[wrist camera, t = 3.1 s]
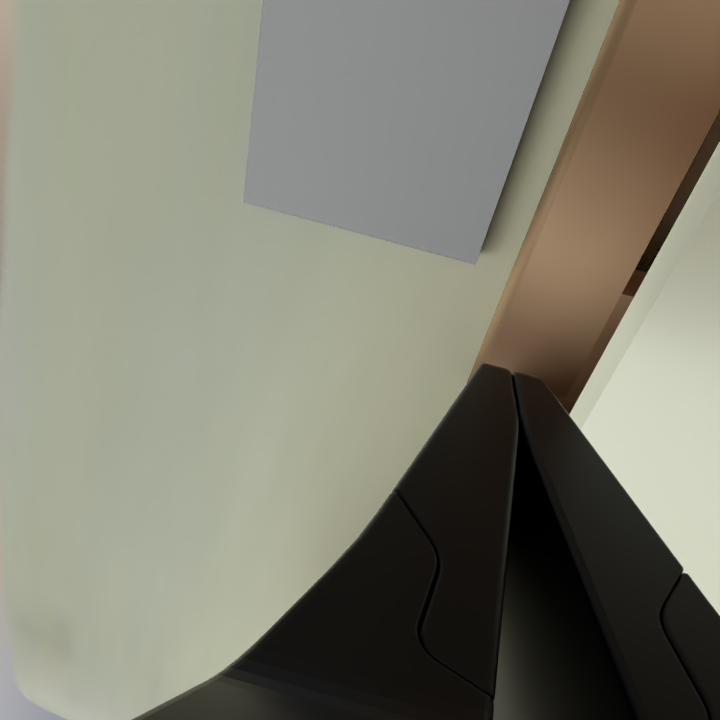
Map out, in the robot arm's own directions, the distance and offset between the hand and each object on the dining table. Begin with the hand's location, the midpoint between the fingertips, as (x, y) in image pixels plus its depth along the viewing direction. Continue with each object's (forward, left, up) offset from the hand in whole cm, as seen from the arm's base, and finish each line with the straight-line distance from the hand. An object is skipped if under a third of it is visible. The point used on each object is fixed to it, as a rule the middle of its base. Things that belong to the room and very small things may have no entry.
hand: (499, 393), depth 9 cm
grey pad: (+2, +3, -8) cm, 9 cm away
